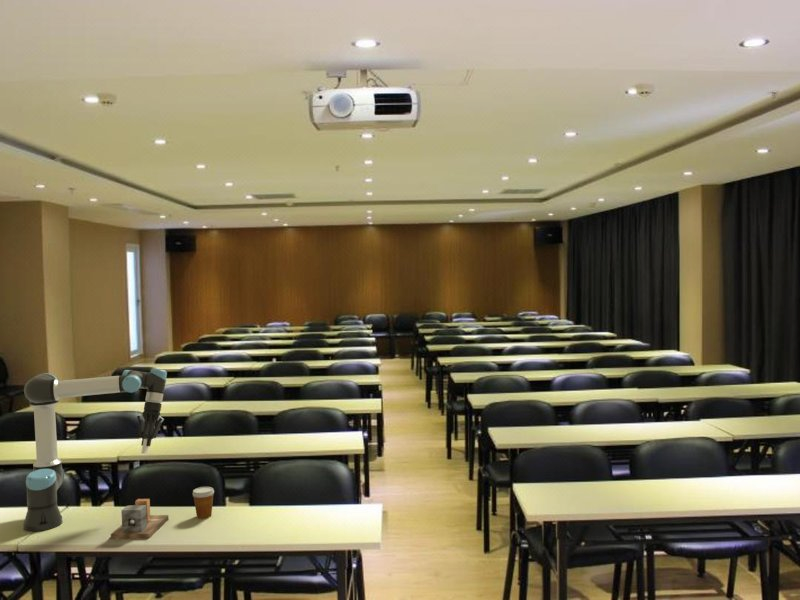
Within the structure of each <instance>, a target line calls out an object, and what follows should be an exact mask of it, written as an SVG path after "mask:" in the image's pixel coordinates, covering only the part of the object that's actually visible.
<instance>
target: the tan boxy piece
mask: <svg viewBox="0 0 800 600" xmlns="http://www.w3.org/2000/svg"><path fill="white" fill-rule="evenodd" d="M150 501H151V499H150V498H137V499H136V500H135V503H134V505H146V512H147V522H148V521H149V520H150V515H151V502H150ZM129 524H130V525H134V524H135V519H131V520H130V521H129Z"/></svg>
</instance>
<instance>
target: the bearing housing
mask: <svg viewBox="0 0 800 600" xmlns="http://www.w3.org/2000/svg"><path fill="white" fill-rule="evenodd" d="M169 518H170V517H169V514H160V515H158V514H157V515H156V514H155V515H151V514H150V520H149V521H148V522H147V512H146V505H135V504H133V505H126V506H125V507H124V508H123V509H121V525H120V526H119V527H117V528H116V529H115V530H113V532H111V533H110V539H111V540H117V539H118V540H120V539H121V540H123V539H126V540H127V539H128V540H134V539H135V540H136V539H137V540H141V539H142V540H143V539H150V538H151V537H152V536H153V535H155V533H156V532H157V531H159V529H160V528H162V527H163V525H164V524H165V523H167V522H169ZM131 519H135V524H134V525H130V524H129V521H130V520H131Z"/></svg>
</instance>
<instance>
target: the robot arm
mask: <svg viewBox="0 0 800 600" xmlns="http://www.w3.org/2000/svg"><path fill="white" fill-rule="evenodd" d="M167 375H168V372H167V370H165V369H160V368H151V369H150V372H146V371H139V370H133V369H125V370H123V372H122V375H113V376H110V375H109V376H101V377H90V378H89V377H88V378H79V379H78V378H76V379H65V380H58V378H57V376H55V375H53V374H51V373H45V372H43V373H38V374H37V375H35V376H34V377H32V378H30V379H29V380H28V381H27V382H26V384H25V385H24V387H23V392H24V393H23V394H24V397H25V398H26V399H27V400H28V401H29V406H30V407H32V409H33V415H34V436H35V438H34V439H35V453H36V454H35V455H36V461H35V462H34V463H33V465H32V466H33V467H32V468H33V471H31V472H30V473H28V474H27V475H26V480H25V486H26V505H27V506H26V507H27V511H26V514H25V519H24V521H23V530H25V531H27V532H39V531H46V530H52V529H54V528H56V527H59V526H61V525H62V524H63V516H62V514H61V511H60V509H59V507H58V494H57V493H58V489H59V488H60V487H61V486H62V484H64V483H63V482H64V479H65V470H64V469H63V463H62V460H61V459H60V458H59V457H58V441H57V440H58V437H57V421H56V406H57V405H58V404H59V400H60V399H64V398H75V397H84V396H85V397H86V396H94V395H104V394H105V395H106V394H116V393H117V394H118V393H135V392H137V391H138V390H139V389H146V395H145V402H144V405H143V412H142V414H141V415H137V416H136V418H137V422H138V423H137V424H138V437H139V438H141V443H140V444H141V454H144V455H145V454H147V455H148V452H149V447H151V444H152V440H153V439H156V438H157V436H158V433H159V431H160V428H161V426H162V423H163V422H165V418H163V417H162V416H161V411H162V403H163V400H164V399H163V398H164V392H165V387H166V382H167Z"/></svg>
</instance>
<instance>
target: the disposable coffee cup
mask: <svg viewBox="0 0 800 600" xmlns="http://www.w3.org/2000/svg"><path fill="white" fill-rule="evenodd" d="M214 493H215V490H214V488H213V487H211V486H200V487H197V488H195V489H193V490H192V497H193V501H194V506H195V513H196V518H198V519H200V518H201V519H203V518H204V519H208V518H211V517H212V513H213V512H212V511H213V502H214ZM204 519H203V520H204Z"/></svg>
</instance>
